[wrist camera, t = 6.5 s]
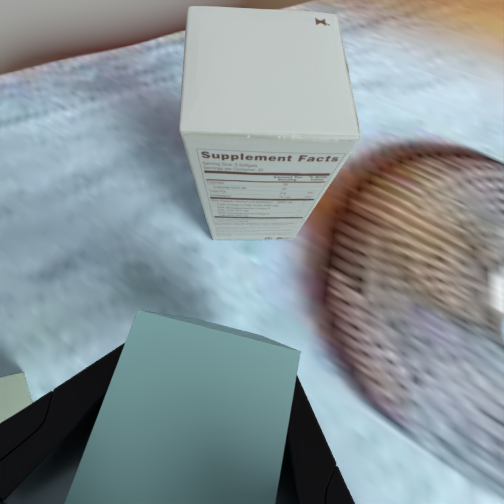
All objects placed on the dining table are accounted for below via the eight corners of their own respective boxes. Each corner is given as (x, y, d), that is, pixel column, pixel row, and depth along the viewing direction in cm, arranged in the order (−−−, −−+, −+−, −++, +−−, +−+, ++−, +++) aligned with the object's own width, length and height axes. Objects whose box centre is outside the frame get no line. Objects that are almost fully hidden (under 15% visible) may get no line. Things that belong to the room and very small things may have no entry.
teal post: (245, 405, 14) (262, 576, 4) (179, 388, 14) (58, 520, 5) (260, 335, 15) (300, 351, 6) (199, 319, 15) (137, 310, 6)
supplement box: (212, 169, 23) (185, -3, 11) (289, 171, 23) (344, 8, 11) (209, 243, 21) (172, 129, 9) (294, 243, 21) (369, 136, 9)
